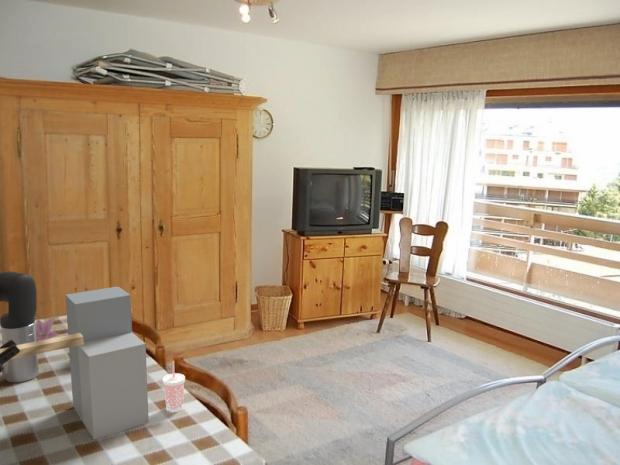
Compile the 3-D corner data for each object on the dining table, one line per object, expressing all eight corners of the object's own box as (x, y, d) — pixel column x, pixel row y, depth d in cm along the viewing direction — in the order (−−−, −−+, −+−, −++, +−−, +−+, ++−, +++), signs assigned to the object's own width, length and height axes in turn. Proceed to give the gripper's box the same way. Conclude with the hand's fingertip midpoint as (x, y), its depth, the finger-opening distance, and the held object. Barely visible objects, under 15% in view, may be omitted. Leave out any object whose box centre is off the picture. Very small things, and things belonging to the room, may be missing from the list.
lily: (22, 346, 191) (13, 329, 184) (51, 326, 198) (44, 309, 192) (42, 363, 185) (34, 346, 179) (71, 342, 193) (64, 325, 187)
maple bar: (-11, 364, 118) (-12, 355, 117) (-13, 359, 120) (-14, 351, 120) (83, 344, 129) (83, 336, 129) (80, 340, 132) (80, 332, 131)
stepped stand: (93, 439, 132) (86, 315, 126) (73, 406, 148) (65, 294, 142) (148, 422, 140) (143, 304, 135) (123, 392, 156) (118, 286, 150)
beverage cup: (166, 415, 144) (164, 367, 141) (161, 405, 149) (159, 358, 147) (188, 410, 147) (187, 363, 144) (182, 400, 152) (181, 355, 149)
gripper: (-49, 396, 122) (21, 346, 129) (-44, 423, 111) (32, 367, 118) (-72, 374, 118) (1, 324, 125) (-70, 400, 107) (10, 343, 114)
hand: (15, 345), depth 122 cm, fingers closed on maple bar, 3 cm apart
